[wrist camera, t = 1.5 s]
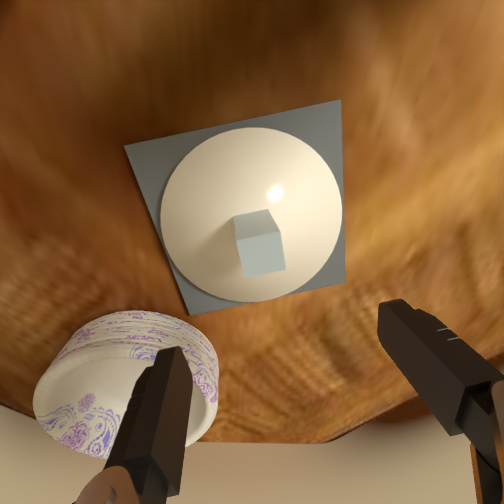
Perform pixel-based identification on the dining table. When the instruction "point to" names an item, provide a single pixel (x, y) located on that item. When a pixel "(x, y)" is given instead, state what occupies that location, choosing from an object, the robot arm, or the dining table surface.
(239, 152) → the lid
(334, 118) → the mat
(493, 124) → the dining table surface
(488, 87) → the dining table surface
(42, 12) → the dining table surface
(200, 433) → the paper bowls
